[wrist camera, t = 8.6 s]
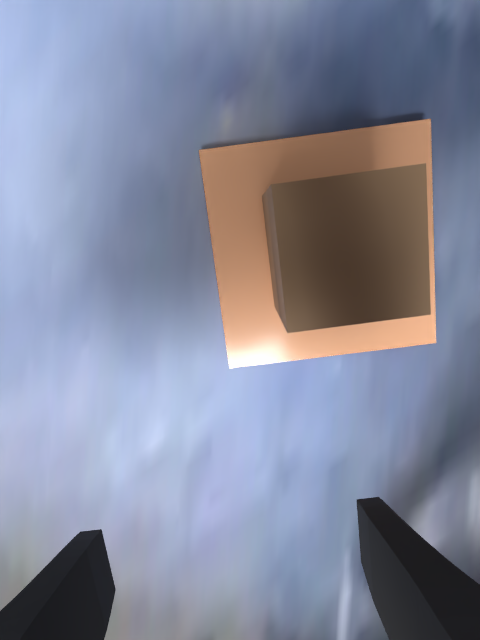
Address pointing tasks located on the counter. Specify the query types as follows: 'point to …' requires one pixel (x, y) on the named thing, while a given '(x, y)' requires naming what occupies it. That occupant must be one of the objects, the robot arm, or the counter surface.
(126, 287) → the counter surface
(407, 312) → the cube
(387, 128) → the plate
